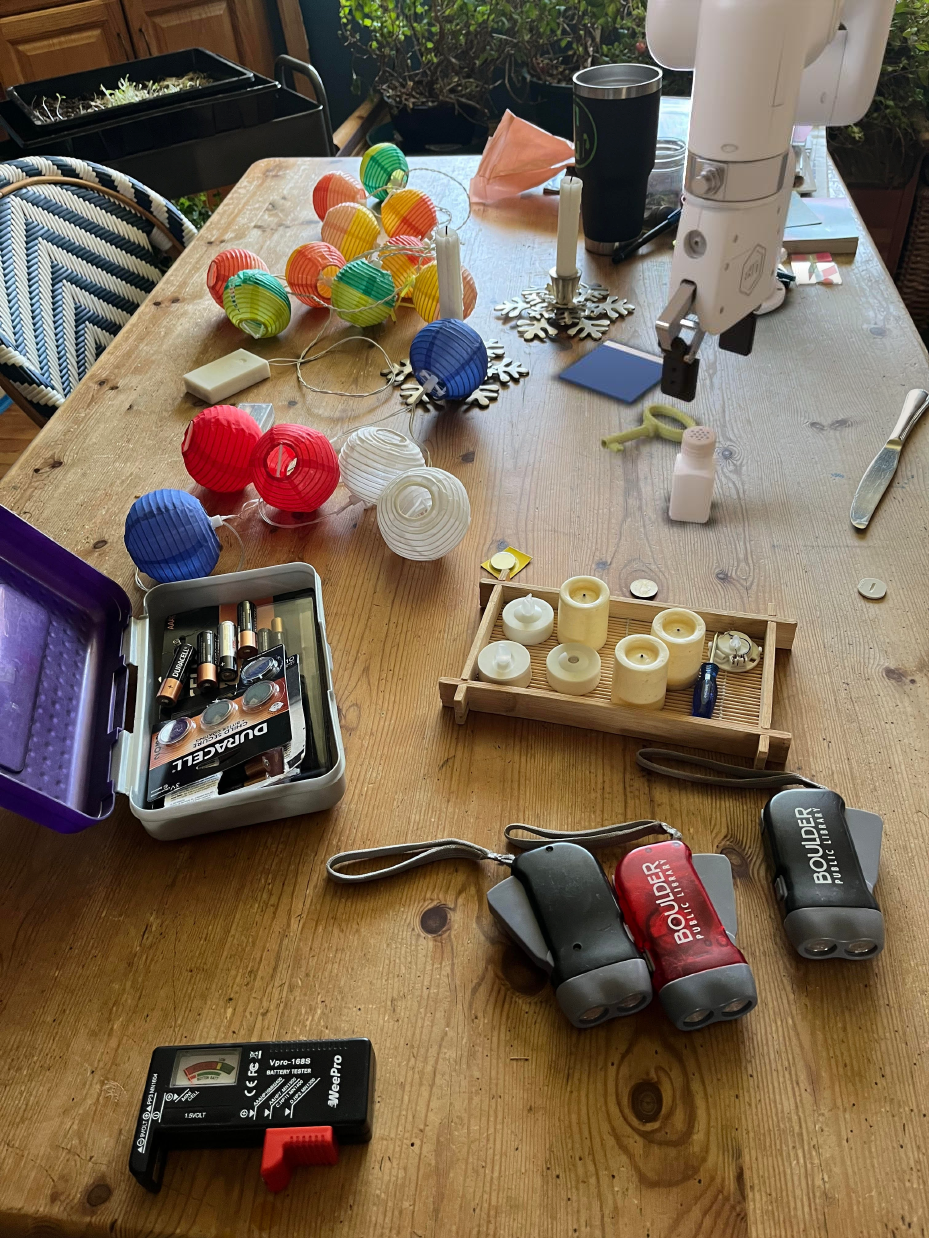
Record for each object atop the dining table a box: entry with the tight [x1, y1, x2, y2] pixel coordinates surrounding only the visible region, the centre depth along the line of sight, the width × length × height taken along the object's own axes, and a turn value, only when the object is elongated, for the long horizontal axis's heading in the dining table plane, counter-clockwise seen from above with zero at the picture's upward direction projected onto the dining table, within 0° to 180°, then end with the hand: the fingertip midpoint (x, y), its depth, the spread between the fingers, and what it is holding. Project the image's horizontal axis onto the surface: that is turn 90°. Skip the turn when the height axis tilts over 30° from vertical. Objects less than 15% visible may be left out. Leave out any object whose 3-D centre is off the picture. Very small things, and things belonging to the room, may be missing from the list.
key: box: [600, 403, 697, 455], centre depth 99 cm, size 7×12×2 cm, turn 139°
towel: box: [557, 339, 663, 405], centre depth 110 cm, size 11×11×1 cm
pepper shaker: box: [668, 425, 718, 524], centre depth 87 cm, size 4×4×10 cm
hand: (706, 373), depth 79 cm, fingers open, 9 cm apart
